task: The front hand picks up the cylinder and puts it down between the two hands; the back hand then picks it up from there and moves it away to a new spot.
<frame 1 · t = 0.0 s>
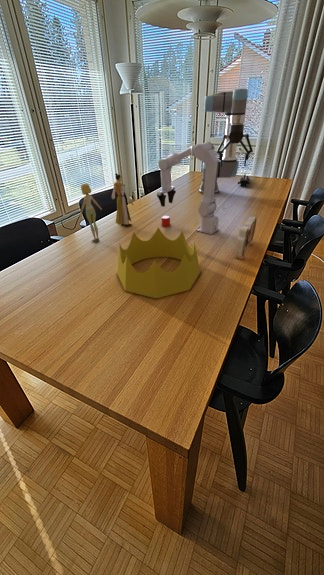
front hand: (166, 204, 160), 10 cm above the table, tool pointing down, fingers open, 7 cm apart
back hand: (232, 166, 156), 28 cm above the table, tool pointing down, fingers open, 13 cm apart
toy: (244, 182, 232), on the table
figurine: (124, 225, 161), on the table
cutout: (244, 249, 129), on the table
crown: (158, 273, 115), on the table
sculpture: (96, 241, 145), on the table
cylinder: (166, 225, 159), on the table
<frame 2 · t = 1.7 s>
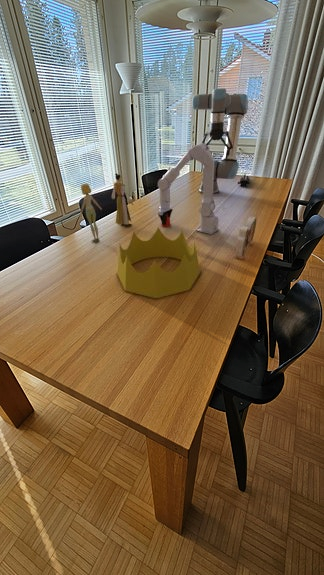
front hand: (165, 222, 159), 1 cm above the table, tool pointing down, fingers closed on cylinder, 5 cm apart
back hand: (214, 161, 165), 29 cm above the table, tool pointing down, fingers open, 13 cm apart
cylinder: (165, 225, 159), on the table, touching front hand
everything else where it was.
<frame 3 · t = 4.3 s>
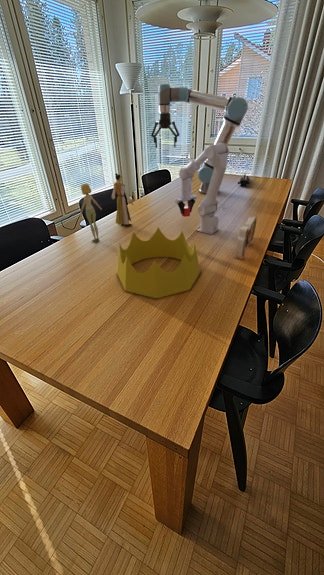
front hand: (186, 213, 160), 5 cm above the table, tool pointing down, fingers closed on cylinder, 5 cm apart
back hand: (165, 147, 193), 34 cm above the table, tool pointing down, fingers open, 13 cm apart
cylinder: (185, 215, 160), point 4 cm above the table, touching front hand
everything else where it was.
when the front hand's fingers open (2 cm above the table, at t = 6.9 s): cylinder stays where it is, on the table.
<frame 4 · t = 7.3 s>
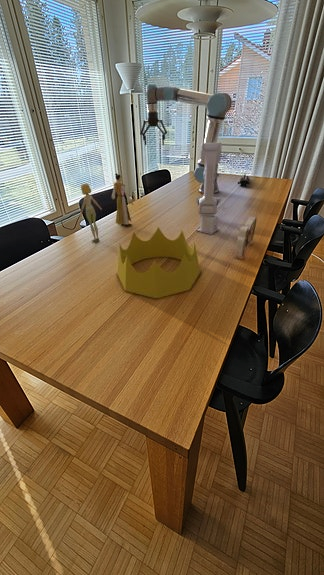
front hand: (207, 213, 165), 3 cm above the table, tool pointing down, fingers open, 7 cm apart
back hand: (154, 145, 201), 34 cm above the table, tool pointing down, fingers open, 13 cm apart
cylinder: (207, 217, 167), on the table
everything else where it was.
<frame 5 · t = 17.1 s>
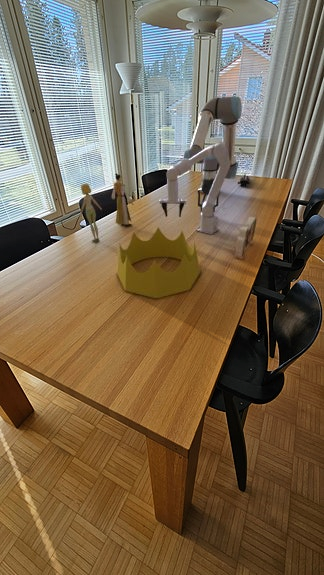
front hand: (173, 216, 149), 8 cm above the table, tool pointing down, fingers open, 7 cm apart
back hand: (207, 217, 166), 0 cm above the table, tool pointing down, fingers closed on cylinder, 5 cm apart
cylinder: (207, 217, 167), on the table, touching back hand
everything else where it was.
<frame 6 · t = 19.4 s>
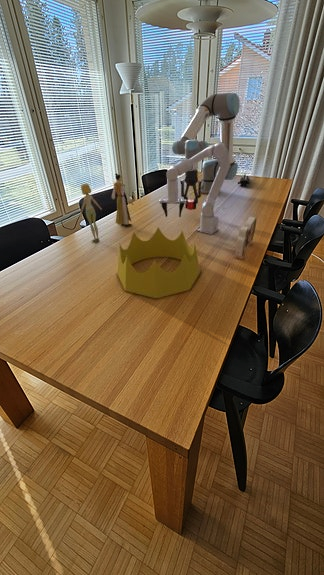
front hand: (173, 216, 149), 8 cm above the table, tool pointing down, fingers open, 7 cm apart
back hand: (190, 208, 171), 4 cm above the table, tool pointing down, fingers closed on cylinder, 5 cm apart
cylinder: (190, 208, 171), point 4 cm above the table, touching back hand
everything else where it was.
when the back hand's fingers open (1 cm above the table, at t = 21.8 s): cylinder stays where it is, on the table.
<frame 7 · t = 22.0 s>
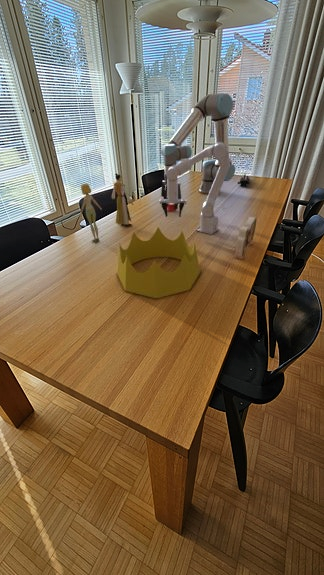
front hand: (173, 216, 149), 8 cm above the table, tool pointing down, fingers open, 7 cm apart
back hand: (171, 208, 180), 2 cm above the table, tool pointing down, fingers open, 7 cm apart
cylinder: (171, 210, 181), on the table
everything else where it was.
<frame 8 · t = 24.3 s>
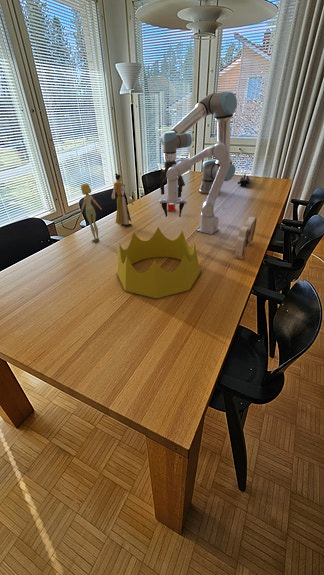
front hand: (173, 216, 149), 8 cm above the table, tool pointing down, fingers open, 7 cm apart
back hand: (171, 195, 175), 10 cm above the table, tool pointing down, fingers open, 13 cm apart
nothing on the table moved.
at the end: cylinder inside the target area (0.1 cm from its centre), on the table; cylinder tilted 0°; the two hands never held the cylinder at the same time; the front hand is holding nothing; the back hand is holding nothing; cylinder at rest at the end (0.0 cm/s) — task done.
